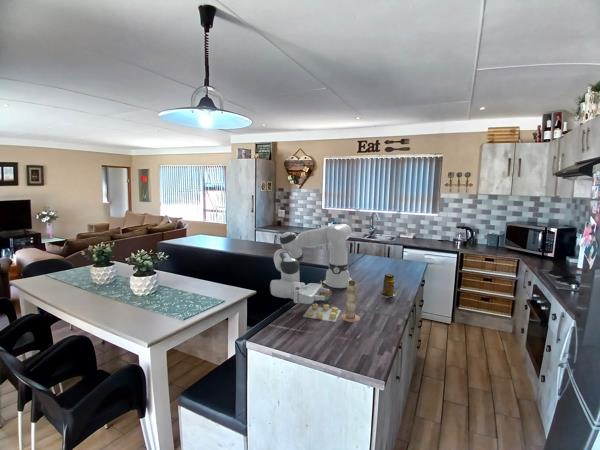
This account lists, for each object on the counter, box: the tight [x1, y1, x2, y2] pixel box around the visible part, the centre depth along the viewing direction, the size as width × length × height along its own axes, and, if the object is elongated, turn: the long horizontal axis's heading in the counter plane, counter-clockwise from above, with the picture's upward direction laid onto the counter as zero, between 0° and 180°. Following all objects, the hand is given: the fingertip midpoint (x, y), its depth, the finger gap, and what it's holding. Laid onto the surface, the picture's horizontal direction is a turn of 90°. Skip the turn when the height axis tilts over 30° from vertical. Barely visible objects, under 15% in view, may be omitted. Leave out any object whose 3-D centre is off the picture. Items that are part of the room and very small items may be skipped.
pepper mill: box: [345, 279, 358, 319], centre depth 150 cm, size 5×5×19 cm
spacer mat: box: [302, 303, 341, 323], centre depth 156 cm, size 14×16×3 cm
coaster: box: [340, 313, 361, 323], centre depth 152 cm, size 9×9×1 cm
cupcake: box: [318, 280, 332, 302], centre depth 174 cm, size 9×8×12 cm
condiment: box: [377, 273, 397, 299], centre depth 185 cm, size 7×8×12 cm
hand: (326, 294), depth 154 cm, fingers open, 8 cm apart
